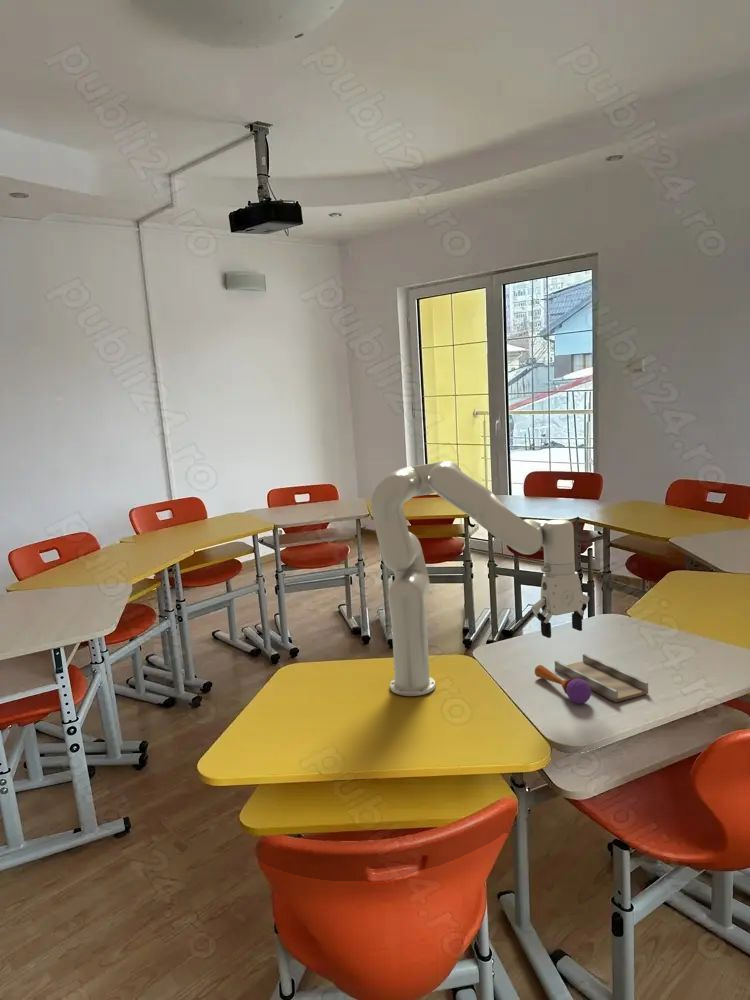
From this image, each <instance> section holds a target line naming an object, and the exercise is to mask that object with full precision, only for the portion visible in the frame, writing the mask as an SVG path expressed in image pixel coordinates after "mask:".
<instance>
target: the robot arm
mask: <svg viewBox="0 0 750 1000" xmlns="http://www.w3.org/2000/svg"><path fill="white" fill-rule="evenodd" d="M433 494H434V495H435V494H436V495H437V496H439V497H440V498H441V499H443V500H445V501H446V502H448V503H449V504H450V505H452V506H453V507H455V508H457V510H459V511H461V512H462V513H464V514H466V515H467V516H468V517H470V518H471V519H473V520H474V521H475V522H476V523H477V524H478V525H479V526H481V527H483V528H484V530H486V531H487V532H488V533H490V534H491V535H492V536H494V537H495V538H496V539H497V540H499V541H501V542H502V543H504V544H505V545H506V546H508V547H510V548H511V549H512V550H514V551H516V552H517V553H519V554H522V555H533V554H535V553H537V552H538V551H539V550H541V548H543V562H544V563H543V565H544V566H541V568H540V570H541V572H542V573H543V574H542V578H541V585H540V599H539V600H538V601H537V602H535V603H534V604H533V605H532V606H531V611H532V613H533V614H534V616H535V618H536V619H538V621H540V633H541V635H542V636H543V637H545V638H547V639H551V637H552V624H551V622H550V620H551V618H552V617H553V616H561V615H565V614H570V613H571V628H572V629H574V630H577V631H579V632H581V631H583V616H584V614H585V611H586V610H587V607H588V603H589V601H590V596H589V595H586V594H584V593H582V585H581V581H580V576H579V573H578V571H576V567H575V566H576V565H575V563H576V562H575V561H576V560H575V539H574V538H575V537H574V532H575V531H574V523H572V522H571V521H570V520H567V519H550V520H543V519H541V520H540V519H530V518H528V519H527V518H526V519H523V518H521V517H519V516H518V515H517V514H515V513H513V512H512V511H511V510H510V509H508V508H507V507H506V505H504V504H503V503H502V502H501V501H500V499H498V497H497V496H496V494H494V493H493V492H492V491H491V490H490V489H489V488H488V487H485V486H484V485H482V484H481V483H479V482H478V481H476V480H475V479H474V478H472V477H470V476H468V475H467V474H466V473H464V472H463V471H462V469H461V468H460V466H459V465H458V464H456V463H455V462H453V461H450V460H442V461H437V462H432V463H426V464H418V465H413V466H406V467H401V468H399V469H397V470H394V471H392V472H390V473H389V474H388V475H386V476H385V477H384V478H383V479H381V480H380V481H379V483H378V484H377V485H376V486H375V488H374V489H373V493H372V495H371V498H370V499H371V500H370V509H371V514H372V519H373V522H374V527H375V532H376V537H377V541H378V545H379V549H380V555H381V558H382V562H383V564H384V565H385V566H386V567H387V569H388V570H391V571H392V572H393V574H394V580H393V581H392V583H391V584H390V586H389V589H388V593H387V594H388V595H387V597H388V598H387V599H388V601H387V602H388V607H389V613H390V614H389V615H390V622H391V634H392V647H393V648H392V649H393V650H392V651H393V652H392V653H393V670H394V679H391V681H390V682H389V690H390V691H392V693H394V694H395V695H396V694H397V695H399V696H405V697H416V696H417V697H418V696H425V695H426V694H429V693H431V692H433V691H434V690H435V689H436V687H437V686H436V685H437V684H436V680H435V679H434V678H433V677H431V676H430V661H429V659H430V657H429V641H428V639H429V637H428V626H427V615H426V606H425V605H426V604H425V599H426V596H427V594H428V592H429V590H430V578H429V573H428V568H427V564H426V562H425V561H426V560H425V557H424V553H423V549H422V545H421V542H420V541H419V538H418V537H417V536H416V535H415V534H414V533H412V532H411V531H409V528H408V523H407V519H406V515H405V513H404V511H403V510H404V509H403V506H404V503H406V502H407V501H409V500H410V499H413V498H414V497H420V496H426V495H433ZM540 609H541V610H540Z"/></svg>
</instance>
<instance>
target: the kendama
mask: <svg viewBox="0 0 750 1000" xmlns="http://www.w3.org/2000/svg"><path fill="white" fill-rule="evenodd" d="M534 675H535V676H536V677H538V678H540V679H543V680H546V681H550V682H552V683H556V684H559V685H561V688H562V689H563V691H564V693H565V694H566V695H567V698H568V699H569V700H570V701H572V702H573V703H574V704H578V705H579V704H584V703H587V702H588V701H589V700H590V698H591V696H592V690H591V688H590V686H589V684H588V683H587V682H586V681H584V680H582V679H570V678H568V679H564V680H563V679H561V678H560V676H557V675H556V674H555V673H553V672H552V671H550V669H548V668H546V666H543V665H542V664H539V665H536V667H535V668H534Z"/></svg>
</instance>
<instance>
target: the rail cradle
mask: <svg viewBox="0 0 750 1000" xmlns="http://www.w3.org/2000/svg"><path fill="white" fill-rule="evenodd" d="M554 671H556V672H558V673H559V674H561V675H563V676H565V677H567V678H568V679H582V680H584V681H586V682H587V683H588V684H589V686H590V688H591V691H593V692H595V693H597V694H599V695H601V696H603V697H604V698H606V699H607V700H610V701H612V702H614V703H618V702H622V701H624V700H625V701H626V700H629V699H633V698H636V697H640V696H643V695H646V694H649V682H647V681H645V680H642V679H641V678H639V677H636V676H633V675H632V674H629V673H628V672H625V671H623V670H621V669H618V667H617V668H616V667H614V666H613V665H610V664H608V663H605V662H603V661H602V660H598V659H596V658H595V657H592V656H590V655H588V654H586V653H584V654H582V661H578V662H574V663H571V664H564V663H562V662H560V661H559V660H555V661H554Z"/></svg>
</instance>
